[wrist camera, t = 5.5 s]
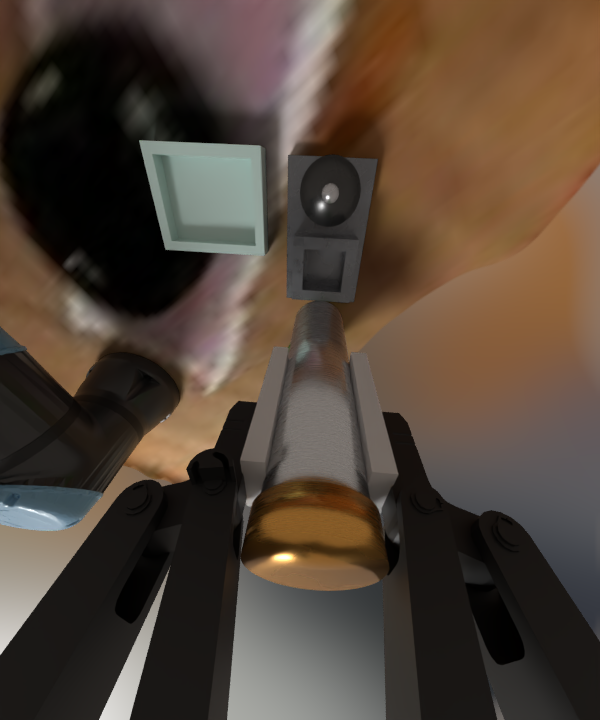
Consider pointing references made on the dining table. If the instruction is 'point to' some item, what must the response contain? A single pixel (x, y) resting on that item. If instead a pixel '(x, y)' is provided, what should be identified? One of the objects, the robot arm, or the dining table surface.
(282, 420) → the pin
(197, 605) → the robot arm
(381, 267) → the dining table surface
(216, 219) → the tray
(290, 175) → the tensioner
